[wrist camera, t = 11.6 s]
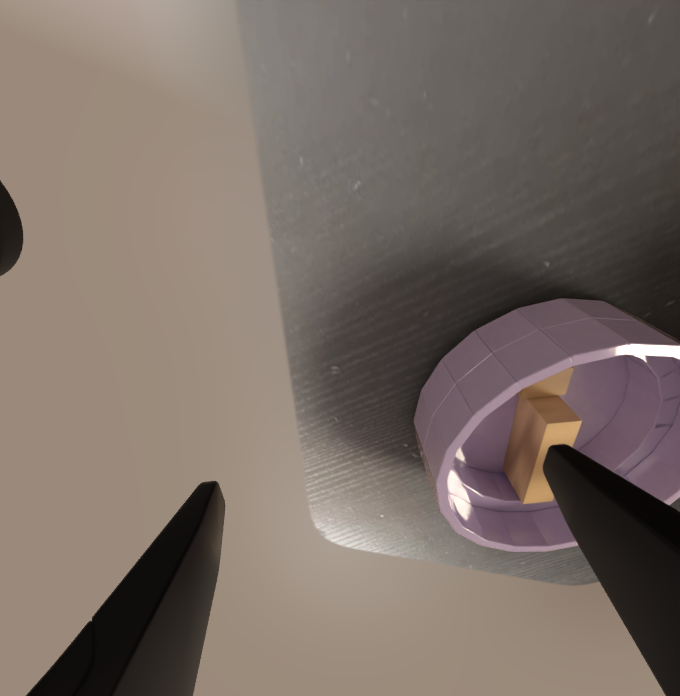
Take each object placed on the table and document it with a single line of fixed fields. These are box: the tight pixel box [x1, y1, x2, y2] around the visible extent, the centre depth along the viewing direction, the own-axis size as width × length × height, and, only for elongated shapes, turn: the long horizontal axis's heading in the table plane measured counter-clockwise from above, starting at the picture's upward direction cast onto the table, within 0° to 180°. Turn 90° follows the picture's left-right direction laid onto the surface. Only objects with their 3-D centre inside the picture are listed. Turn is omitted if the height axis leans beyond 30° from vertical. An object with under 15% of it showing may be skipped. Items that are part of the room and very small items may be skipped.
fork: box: [502, 366, 582, 504], centre depth 22 cm, size 11×3×3 cm, turn 4°
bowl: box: [414, 298, 680, 552], centre depth 21 cm, size 15×15×6 cm
